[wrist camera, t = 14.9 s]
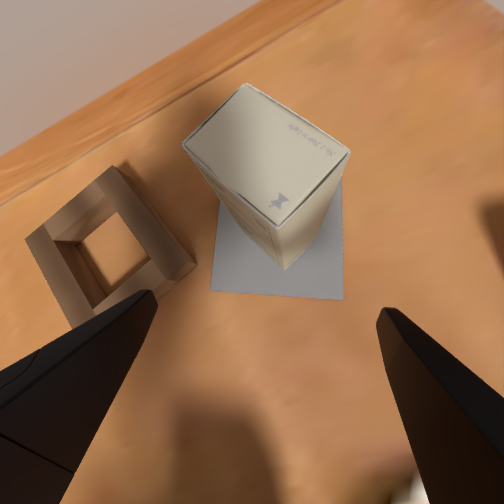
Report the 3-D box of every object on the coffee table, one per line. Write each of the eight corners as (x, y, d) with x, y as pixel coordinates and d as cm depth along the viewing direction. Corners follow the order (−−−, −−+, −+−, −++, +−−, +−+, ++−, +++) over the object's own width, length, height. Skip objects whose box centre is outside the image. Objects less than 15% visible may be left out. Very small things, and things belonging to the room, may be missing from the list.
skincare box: (316, 239, 20) (363, 151, 8) (282, 273, 20) (280, 235, 8) (267, 197, 21) (247, 74, 10) (236, 229, 21) (176, 142, 9)
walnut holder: (106, 344, 21) (83, 351, 19) (50, 245, 25) (24, 239, 22) (197, 264, 22) (186, 260, 19) (129, 177, 25) (112, 164, 23)
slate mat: (341, 300, 19) (343, 300, 18) (212, 290, 21) (209, 290, 20) (340, 177, 21) (341, 174, 21) (224, 179, 23) (222, 176, 23)
